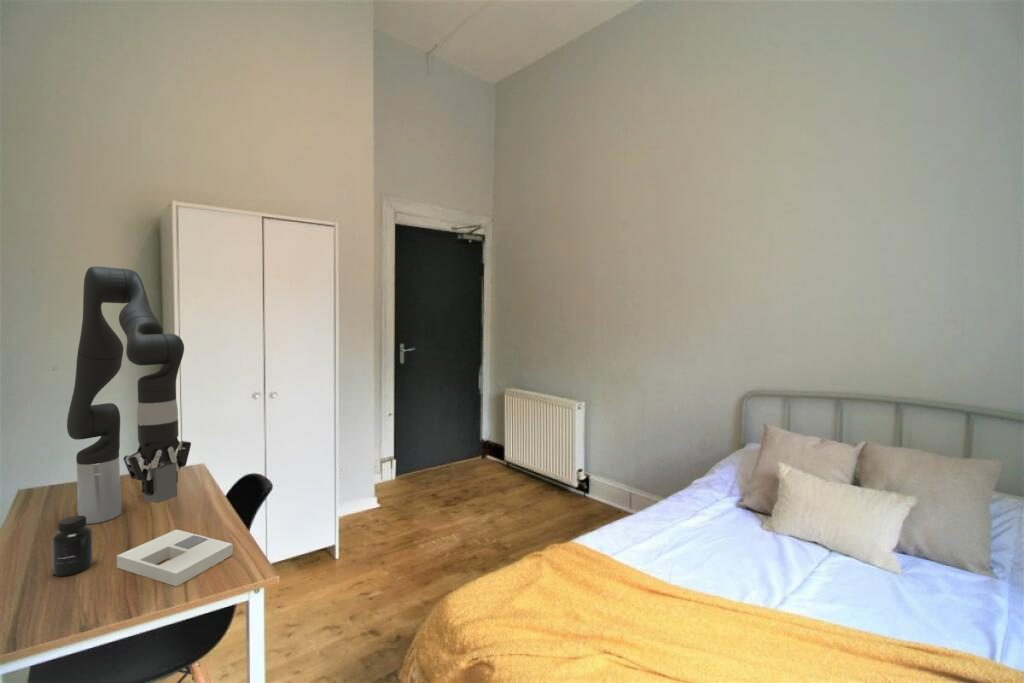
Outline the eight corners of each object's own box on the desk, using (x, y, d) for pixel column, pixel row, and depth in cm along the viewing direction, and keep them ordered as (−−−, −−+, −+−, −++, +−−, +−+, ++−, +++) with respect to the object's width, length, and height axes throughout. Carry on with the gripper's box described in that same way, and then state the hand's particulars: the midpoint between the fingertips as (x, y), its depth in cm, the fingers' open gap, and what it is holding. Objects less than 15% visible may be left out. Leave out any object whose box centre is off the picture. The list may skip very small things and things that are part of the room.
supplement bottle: (58, 580, 104) (56, 529, 103) (48, 571, 107) (46, 521, 107) (97, 566, 110) (95, 518, 109) (87, 557, 113) (85, 510, 112)
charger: (144, 500, 107) (142, 465, 107) (164, 493, 111) (163, 459, 111) (157, 503, 106) (156, 468, 105) (177, 495, 110) (176, 462, 109)
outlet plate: (117, 567, 109) (116, 554, 109) (176, 540, 123) (176, 528, 122) (176, 586, 103) (176, 572, 103) (232, 555, 116) (232, 543, 116)
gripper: (178, 411, 115) (179, 478, 116) (112, 424, 102) (115, 499, 103) (199, 414, 113) (201, 482, 114) (135, 428, 99) (137, 505, 100)
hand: (160, 490), depth 108 cm, fingers closed on charger, 4 cm apart
